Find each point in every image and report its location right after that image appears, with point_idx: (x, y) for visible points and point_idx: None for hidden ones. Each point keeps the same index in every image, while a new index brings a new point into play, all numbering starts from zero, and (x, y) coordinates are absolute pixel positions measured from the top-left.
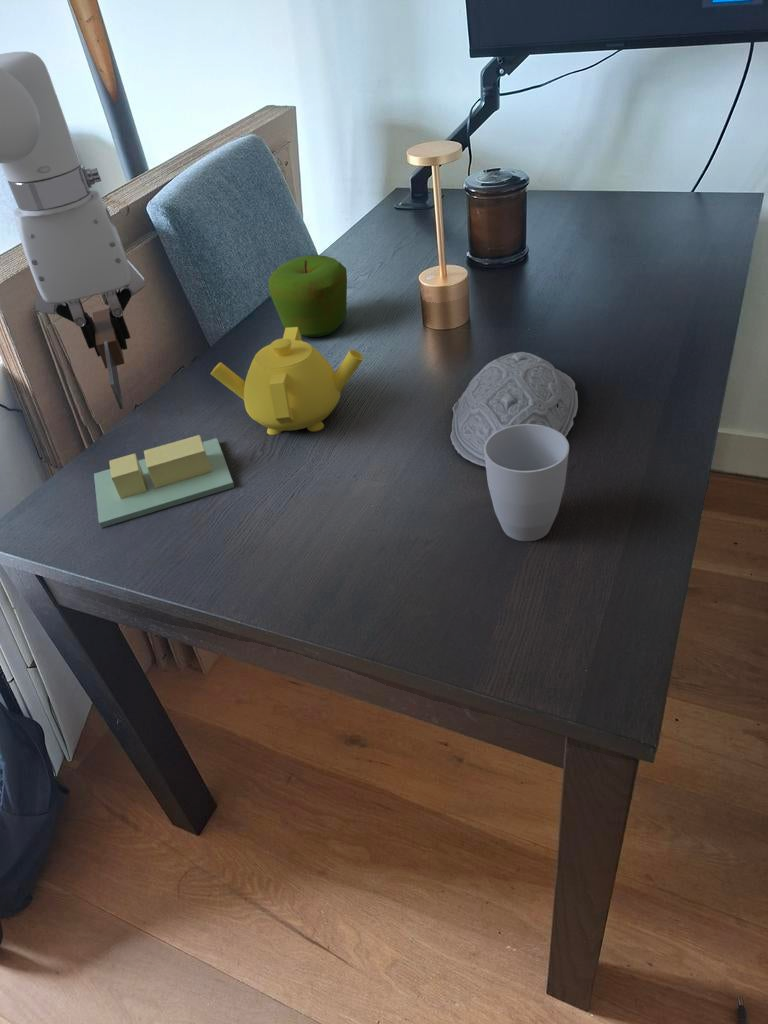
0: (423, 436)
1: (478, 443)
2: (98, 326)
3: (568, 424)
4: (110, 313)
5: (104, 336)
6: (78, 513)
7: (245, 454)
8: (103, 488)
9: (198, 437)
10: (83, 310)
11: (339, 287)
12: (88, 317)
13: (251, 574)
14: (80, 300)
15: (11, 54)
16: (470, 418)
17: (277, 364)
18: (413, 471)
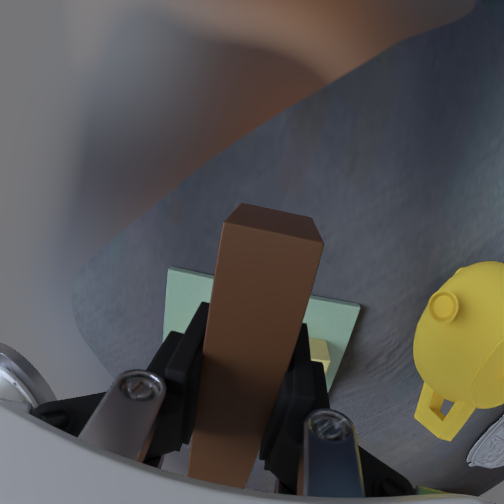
0: (486, 411)
1: (482, 455)
2: (215, 397)
3: None
4: (271, 469)
5: (218, 463)
6: (141, 324)
7: (369, 351)
8: (175, 315)
9: (325, 367)
10: (158, 421)
11: None
12: (178, 429)
13: (272, 479)
14: (145, 447)
15: None
16: (502, 443)
17: (484, 397)
18: (443, 446)
